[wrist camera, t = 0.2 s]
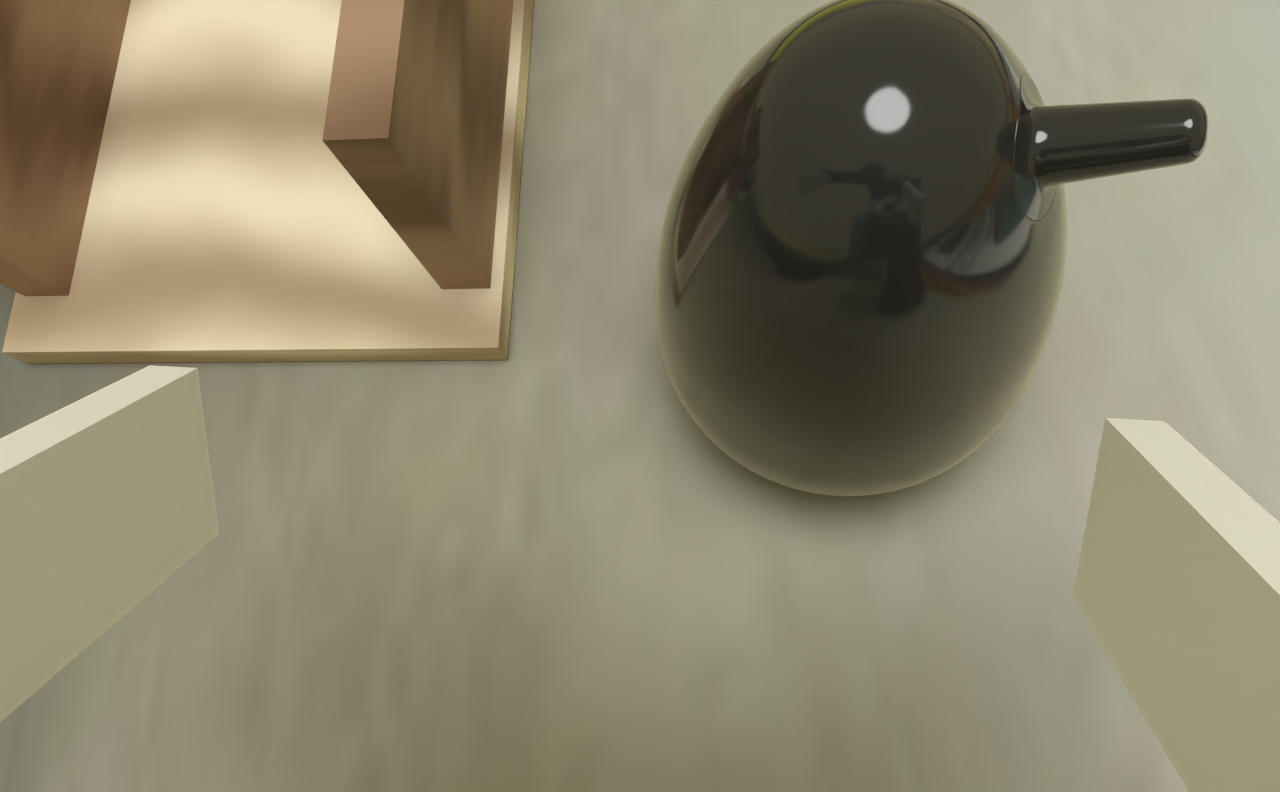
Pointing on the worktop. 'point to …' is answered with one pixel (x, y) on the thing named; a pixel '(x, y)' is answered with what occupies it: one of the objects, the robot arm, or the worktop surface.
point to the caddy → (260, 178)
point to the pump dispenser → (880, 242)
